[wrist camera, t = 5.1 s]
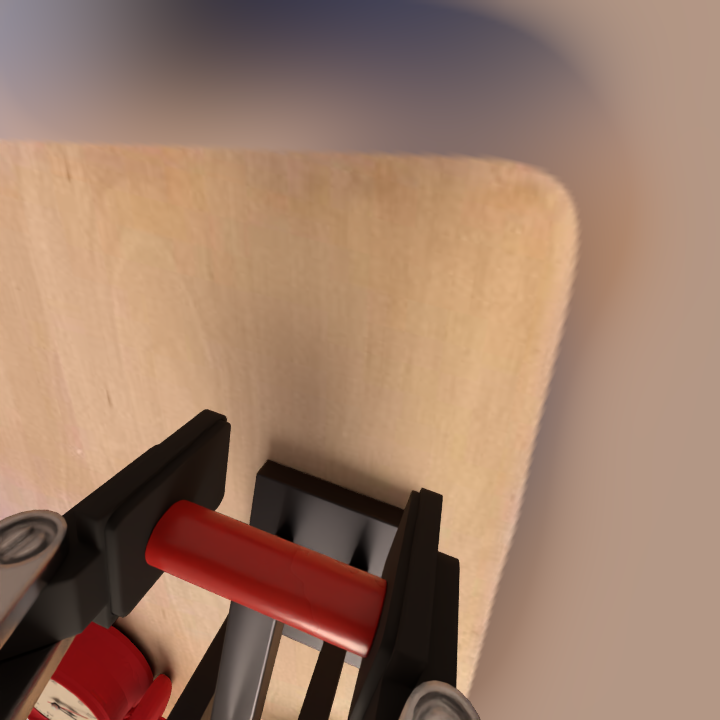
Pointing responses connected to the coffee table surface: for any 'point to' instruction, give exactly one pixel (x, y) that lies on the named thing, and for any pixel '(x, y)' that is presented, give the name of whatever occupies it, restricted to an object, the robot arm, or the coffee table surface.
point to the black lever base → (321, 534)
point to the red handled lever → (263, 596)
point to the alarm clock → (103, 681)
